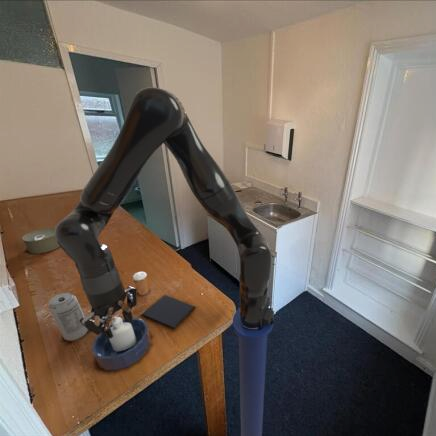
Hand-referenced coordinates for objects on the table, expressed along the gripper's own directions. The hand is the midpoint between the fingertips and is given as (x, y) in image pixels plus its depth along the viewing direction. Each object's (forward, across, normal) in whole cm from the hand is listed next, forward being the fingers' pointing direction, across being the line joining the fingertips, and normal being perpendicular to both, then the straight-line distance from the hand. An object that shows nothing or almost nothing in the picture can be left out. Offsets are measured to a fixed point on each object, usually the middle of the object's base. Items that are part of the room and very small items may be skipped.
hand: (119, 328), depth 67 cm
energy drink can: (+9, -2, +18) cm, 20 cm away
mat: (+9, +16, -1) cm, 18 cm away
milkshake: (+9, +19, +15) cm, 26 cm away
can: (+9, +23, +81) cm, 85 cm away
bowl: (+9, 0, 0) cm, 9 cm away
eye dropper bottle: (+8, 0, 0) cm, 8 cm away
